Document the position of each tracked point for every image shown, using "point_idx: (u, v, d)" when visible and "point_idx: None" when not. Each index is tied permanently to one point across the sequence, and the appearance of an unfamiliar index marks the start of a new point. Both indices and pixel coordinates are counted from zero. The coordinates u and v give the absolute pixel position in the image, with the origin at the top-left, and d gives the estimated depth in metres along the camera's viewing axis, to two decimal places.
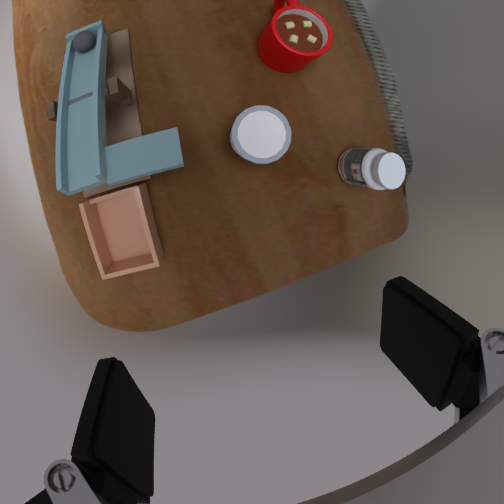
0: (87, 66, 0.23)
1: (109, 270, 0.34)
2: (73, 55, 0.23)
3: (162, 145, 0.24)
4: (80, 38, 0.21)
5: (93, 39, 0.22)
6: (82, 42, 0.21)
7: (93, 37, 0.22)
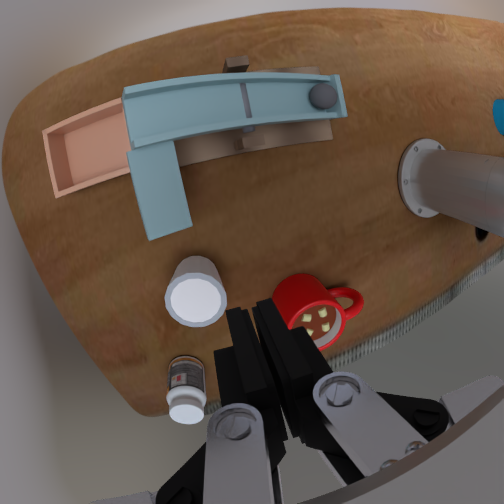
0: (288, 101, 0.26)
1: (52, 136, 0.24)
2: (308, 82, 0.26)
3: (170, 212, 0.23)
4: (327, 94, 0.25)
5: (323, 108, 0.26)
6: (321, 96, 0.25)
7: (325, 108, 0.26)
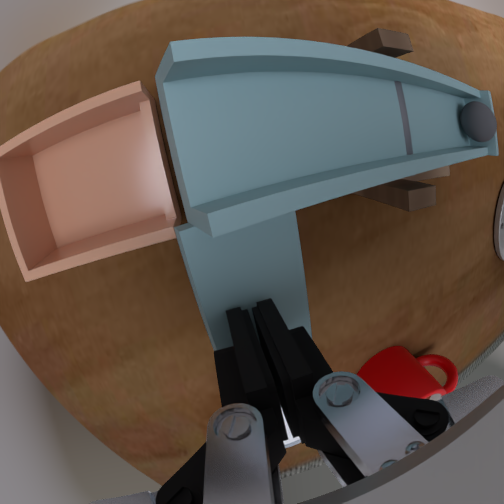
0: (443, 124, 0.13)
1: (8, 162, 0.11)
2: (456, 95, 0.13)
3: None
4: (491, 123, 0.12)
5: (480, 141, 0.13)
6: (485, 124, 0.12)
7: (483, 141, 0.13)
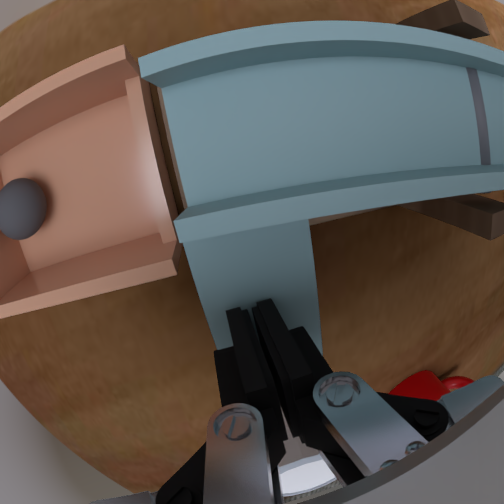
0: None
1: None
2: None
3: None
4: None
5: None
6: None
7: None
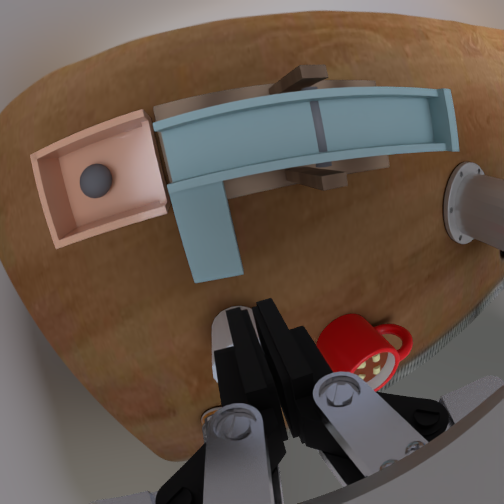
0: (380, 125, 0.18)
1: (44, 162, 0.18)
2: (409, 97, 0.17)
3: (217, 258, 0.22)
4: (82, 186, 0.20)
5: None
6: (81, 189, 0.20)
7: None
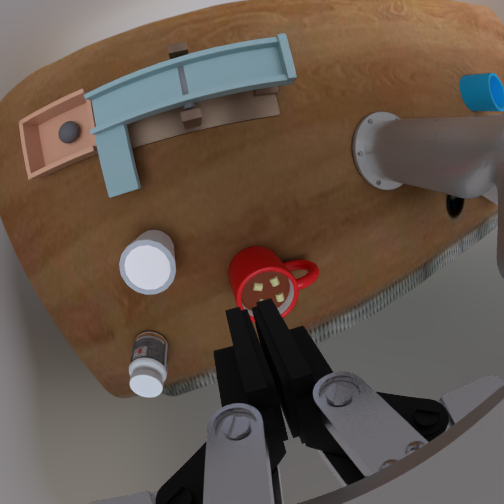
0: (230, 73, 0.24)
1: (27, 126, 0.25)
2: (257, 49, 0.23)
3: (122, 178, 0.28)
4: (69, 130, 0.27)
5: (68, 142, 0.28)
6: (65, 133, 0.27)
7: (70, 142, 0.28)
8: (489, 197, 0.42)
